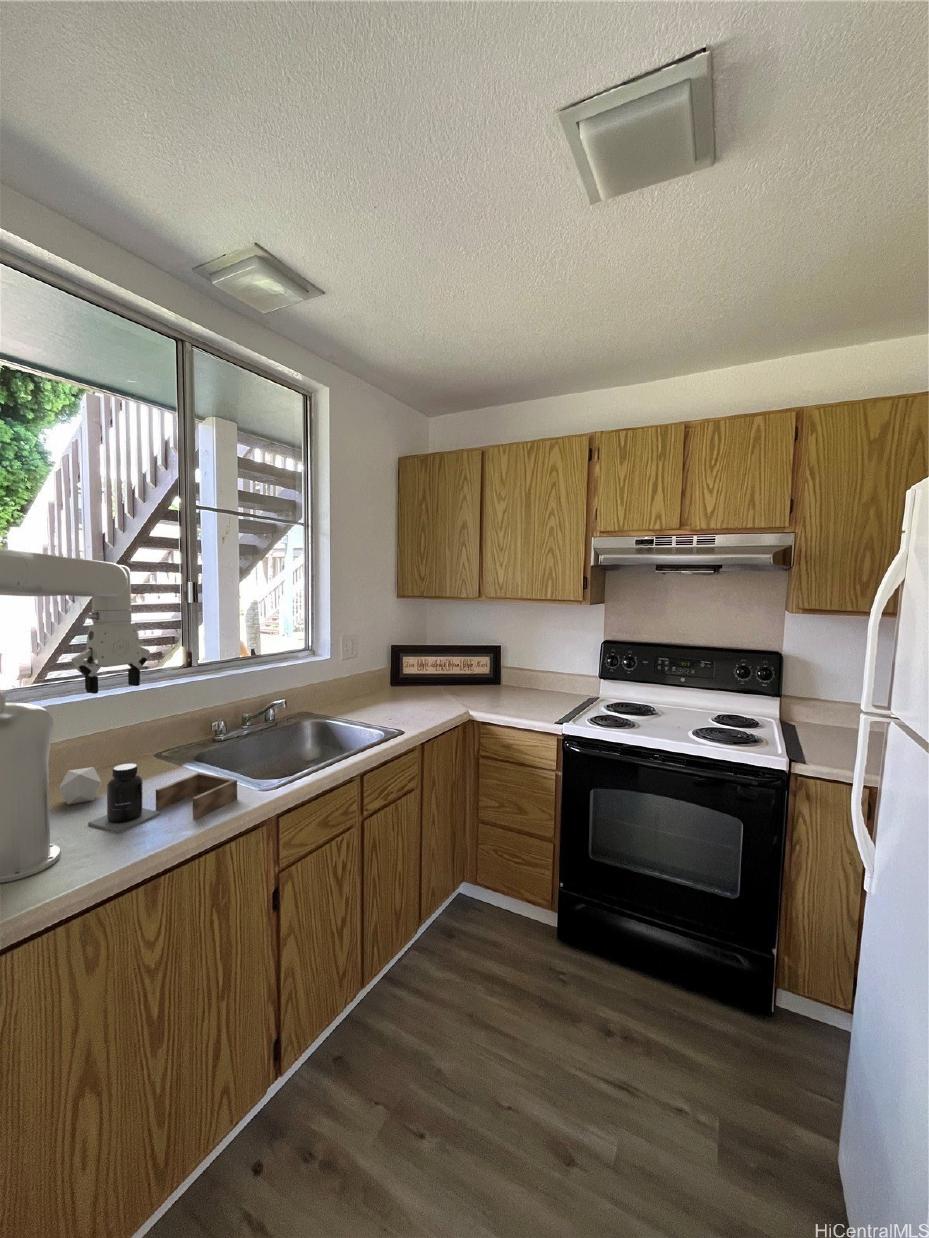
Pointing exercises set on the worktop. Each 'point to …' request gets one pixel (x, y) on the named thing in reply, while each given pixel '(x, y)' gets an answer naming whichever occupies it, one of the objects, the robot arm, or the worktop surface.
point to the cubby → (210, 786)
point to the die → (80, 785)
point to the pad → (122, 827)
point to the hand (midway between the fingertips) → (113, 688)
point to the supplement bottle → (124, 794)
